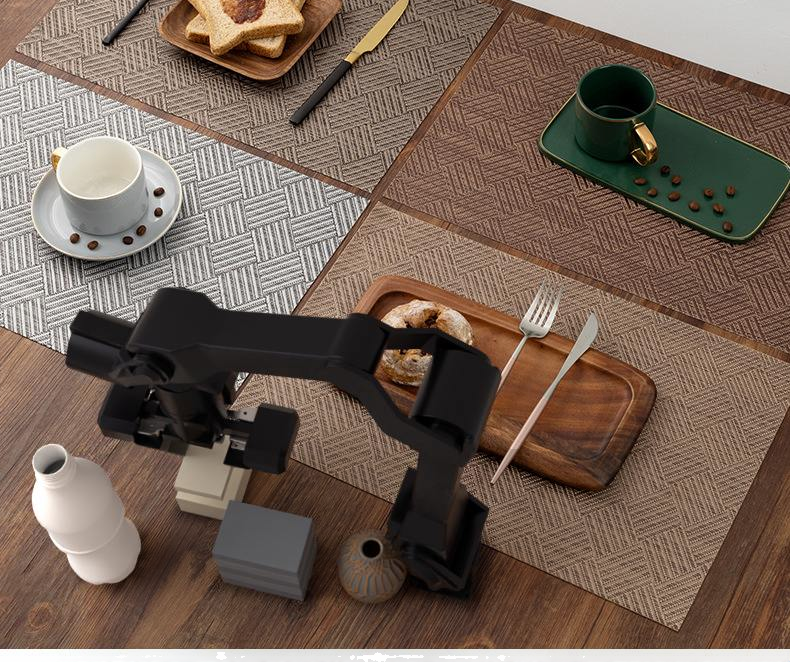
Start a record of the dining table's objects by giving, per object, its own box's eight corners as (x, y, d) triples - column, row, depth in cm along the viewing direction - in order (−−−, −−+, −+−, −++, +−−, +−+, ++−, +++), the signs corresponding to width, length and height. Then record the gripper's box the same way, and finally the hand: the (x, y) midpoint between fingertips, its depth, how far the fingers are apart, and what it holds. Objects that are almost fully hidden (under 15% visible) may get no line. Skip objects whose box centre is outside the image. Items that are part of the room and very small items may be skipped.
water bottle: (132, 598, 115) (74, 507, 94) (65, 584, 116) (-7, 490, 95) (154, 531, 119) (104, 429, 98) (89, 518, 120) (25, 414, 99)
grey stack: (317, 549, 118) (312, 518, 110) (303, 601, 115) (297, 572, 107) (239, 531, 119) (229, 499, 112) (223, 582, 116) (211, 552, 108)
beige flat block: (222, 501, 114) (221, 496, 113) (175, 490, 115) (173, 485, 114) (246, 430, 118) (245, 425, 117) (200, 420, 119) (199, 415, 118)
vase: (378, 625, 114) (377, 598, 106) (325, 583, 116) (320, 555, 109) (419, 571, 117) (421, 541, 109) (366, 531, 119) (365, 500, 112)
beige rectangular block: (256, 458, 124) (252, 444, 121) (235, 523, 119) (230, 510, 116) (203, 446, 124) (198, 432, 121) (180, 510, 120) (175, 497, 117)
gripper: (310, 333, 106) (319, 407, 119) (123, 294, 109) (151, 370, 122) (276, 439, 100) (290, 505, 113) (78, 396, 103) (114, 465, 116)
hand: (210, 457), depth 116 cm, fingers closed on beige flat block, 5 cm apart
